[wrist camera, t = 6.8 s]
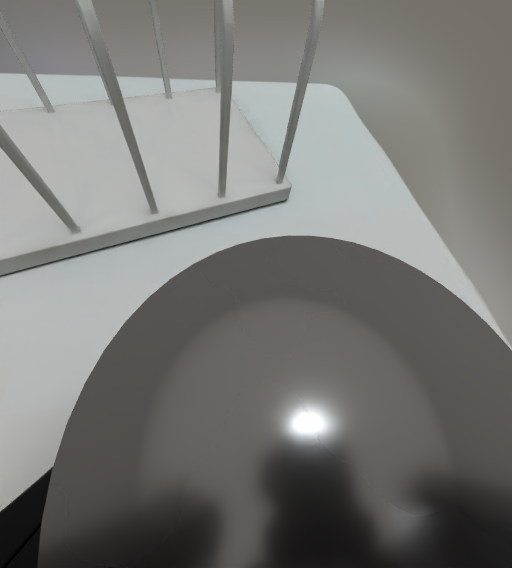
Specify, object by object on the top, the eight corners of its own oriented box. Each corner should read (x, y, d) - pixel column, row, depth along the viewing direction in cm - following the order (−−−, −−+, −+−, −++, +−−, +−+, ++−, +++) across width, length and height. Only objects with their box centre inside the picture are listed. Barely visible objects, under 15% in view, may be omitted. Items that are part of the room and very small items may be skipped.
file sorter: (223, 103, 32) (228, -130, 19) (288, 203, 26) (368, -39, 12) (-20, 133, 25) (-316, -220, 11) (-14, 283, 18) (-688, -109, 5)
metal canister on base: (309, 478, 13) (786, 787, 2) (191, 508, 11) (-110, 1514, 1) (284, 361, 15) (440, 226, 4) (185, 377, 14) (82, 248, 3)
